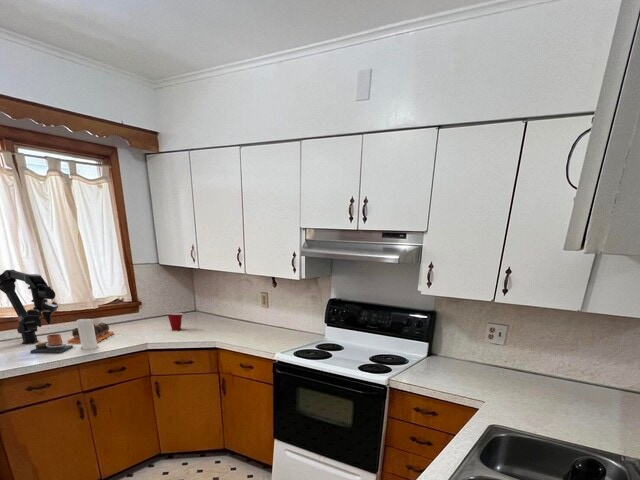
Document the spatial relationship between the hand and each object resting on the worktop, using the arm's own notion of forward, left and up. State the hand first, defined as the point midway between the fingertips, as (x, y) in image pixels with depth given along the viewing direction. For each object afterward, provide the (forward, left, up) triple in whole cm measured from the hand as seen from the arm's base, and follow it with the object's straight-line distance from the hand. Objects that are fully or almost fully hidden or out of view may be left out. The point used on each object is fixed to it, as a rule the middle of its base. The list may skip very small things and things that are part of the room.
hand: (44, 325), depth 247 cm
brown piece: (+16, +20, -12) cm, 28 cm away
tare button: (+2, -12, -9) cm, 15 cm away
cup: (+25, -4, -12) cm, 28 cm away
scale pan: (+8, -11, -9) cm, 16 cm away
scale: (+8, -12, -12) cm, 18 cm away
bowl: (+10, -12, -8) cm, 18 cm away
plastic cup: (+61, +51, -12) cm, 80 cm away
